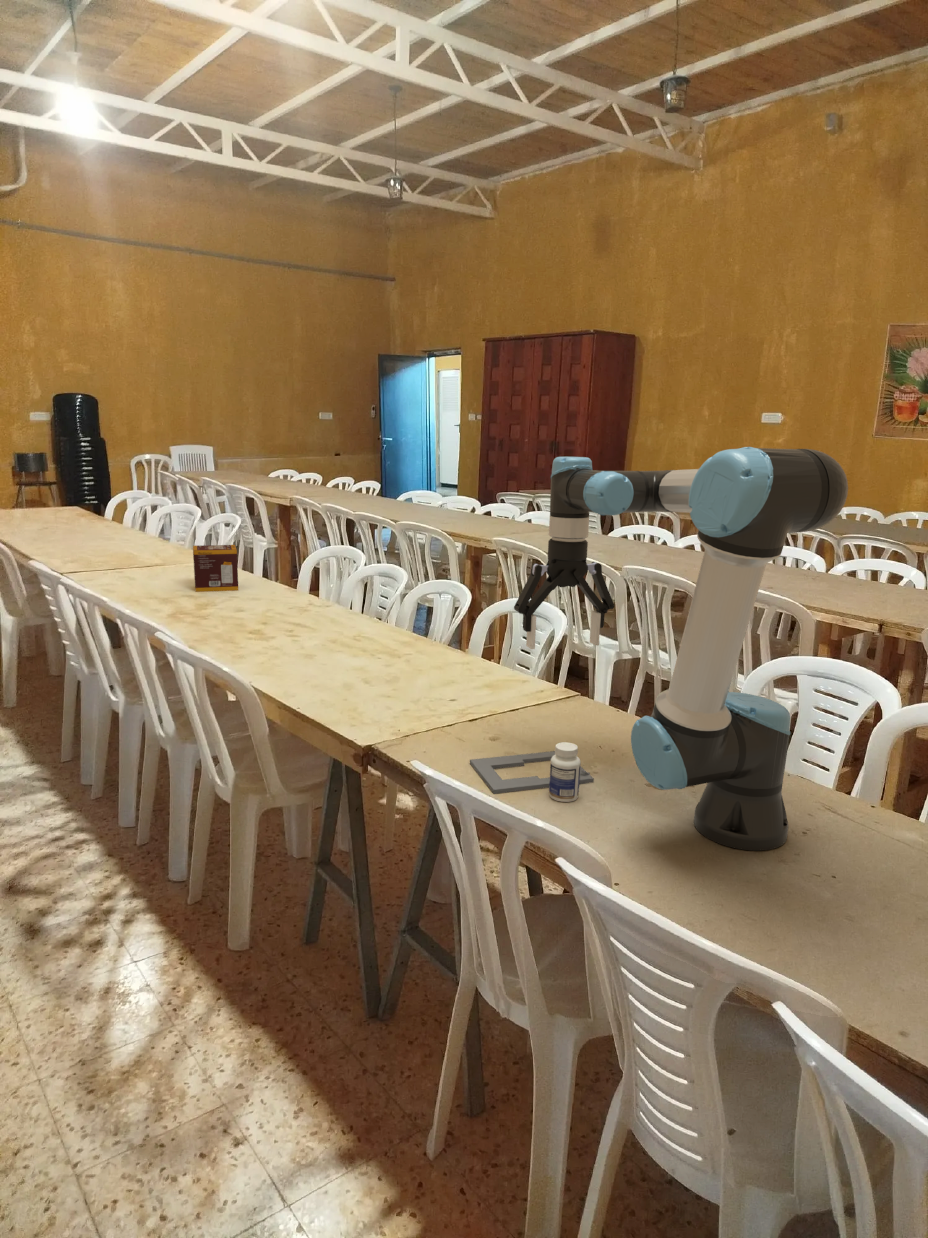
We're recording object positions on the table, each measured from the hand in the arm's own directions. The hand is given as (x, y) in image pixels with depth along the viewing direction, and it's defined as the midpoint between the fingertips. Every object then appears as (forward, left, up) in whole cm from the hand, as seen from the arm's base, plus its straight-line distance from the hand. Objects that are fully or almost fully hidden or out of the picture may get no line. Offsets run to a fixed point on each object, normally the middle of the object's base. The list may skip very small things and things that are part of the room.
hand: (562, 645), depth 167 cm
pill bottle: (-19, +7, -23) cm, 30 cm away
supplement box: (+174, +61, -23) cm, 186 cm away
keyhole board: (-8, +9, -23) cm, 26 cm away
